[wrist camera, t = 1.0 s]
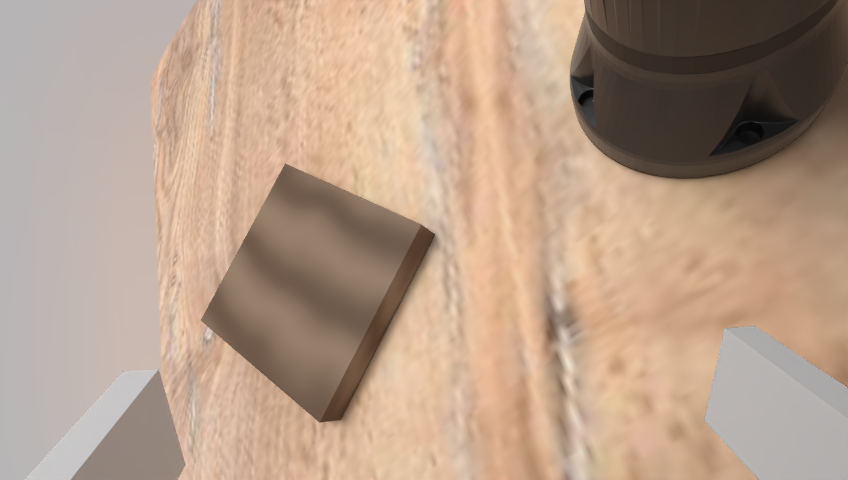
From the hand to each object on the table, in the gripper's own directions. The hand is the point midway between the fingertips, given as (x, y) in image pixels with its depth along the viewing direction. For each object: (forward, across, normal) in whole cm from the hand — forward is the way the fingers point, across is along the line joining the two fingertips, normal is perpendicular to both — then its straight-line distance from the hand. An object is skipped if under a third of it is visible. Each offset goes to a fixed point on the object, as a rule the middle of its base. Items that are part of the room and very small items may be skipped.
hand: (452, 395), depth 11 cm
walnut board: (+27, -8, -9) cm, 30 cm away
